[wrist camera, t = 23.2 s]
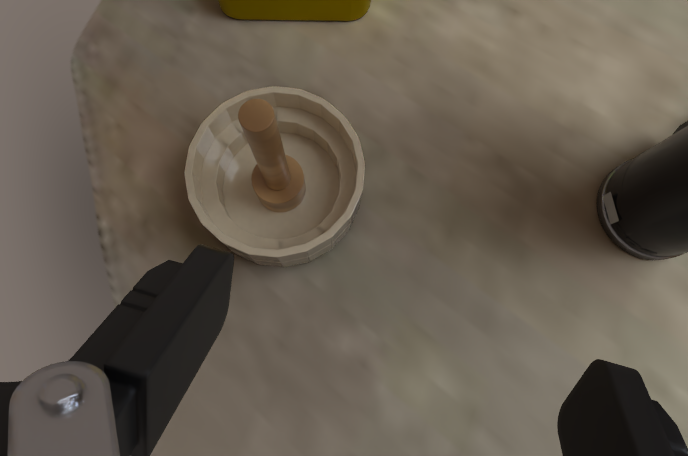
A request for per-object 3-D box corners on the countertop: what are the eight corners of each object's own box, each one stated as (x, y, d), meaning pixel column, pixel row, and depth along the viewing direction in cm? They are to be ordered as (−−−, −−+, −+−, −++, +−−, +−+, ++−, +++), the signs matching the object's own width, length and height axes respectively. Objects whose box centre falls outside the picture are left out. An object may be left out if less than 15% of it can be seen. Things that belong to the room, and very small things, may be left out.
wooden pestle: (280, 156, 46) (255, 68, 31) (316, 187, 45) (307, 112, 30) (246, 190, 45) (204, 117, 30) (282, 222, 44) (256, 163, 30)
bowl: (279, 89, 48) (272, 54, 42) (392, 185, 46) (400, 162, 40) (171, 195, 45) (147, 173, 39) (286, 301, 43) (278, 295, 38)
